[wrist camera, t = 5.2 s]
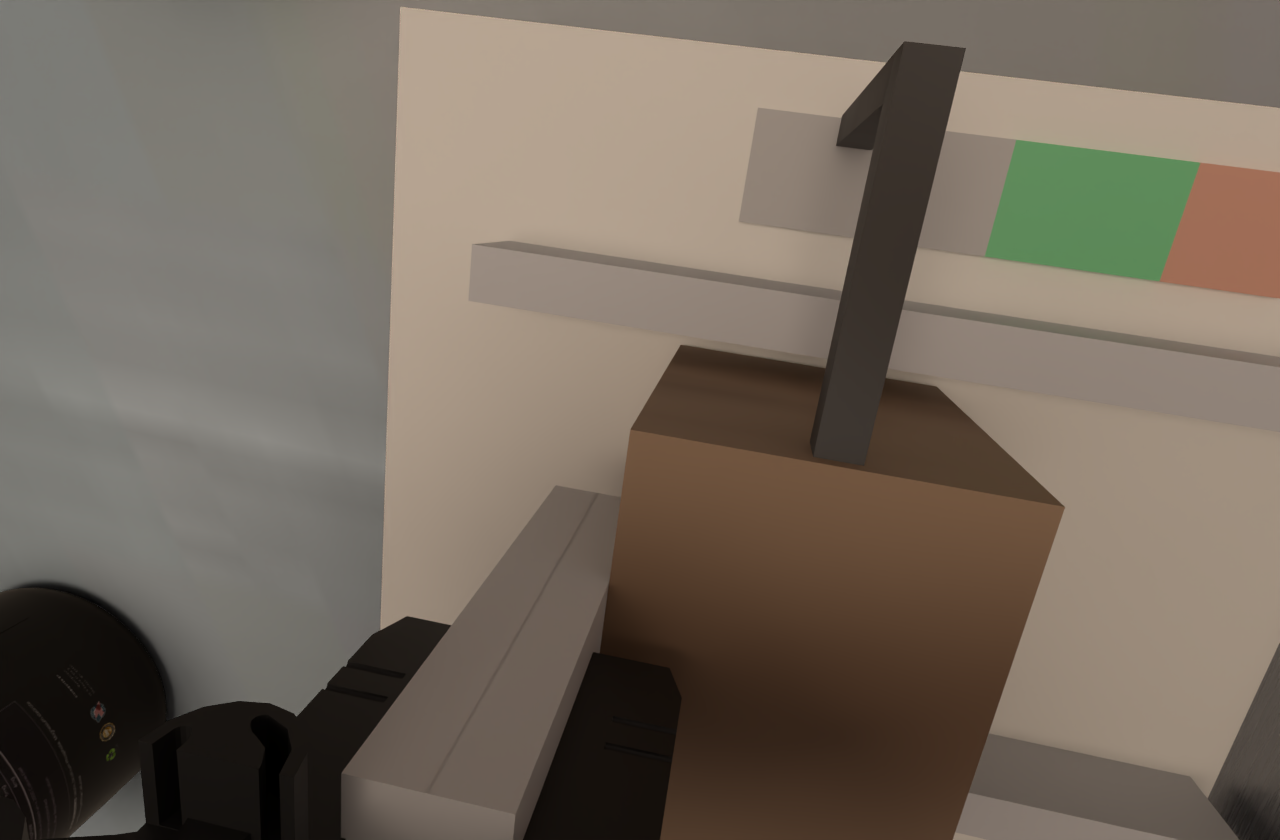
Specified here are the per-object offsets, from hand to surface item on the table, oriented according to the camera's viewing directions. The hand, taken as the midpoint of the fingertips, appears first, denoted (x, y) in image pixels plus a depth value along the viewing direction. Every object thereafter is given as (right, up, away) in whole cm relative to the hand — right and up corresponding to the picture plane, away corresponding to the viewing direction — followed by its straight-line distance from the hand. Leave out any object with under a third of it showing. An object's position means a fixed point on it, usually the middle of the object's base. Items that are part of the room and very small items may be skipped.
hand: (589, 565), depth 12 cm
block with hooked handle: (+4, +2, +2) cm, 5 cm away
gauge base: (+6, 0, +4) cm, 7 cm away
